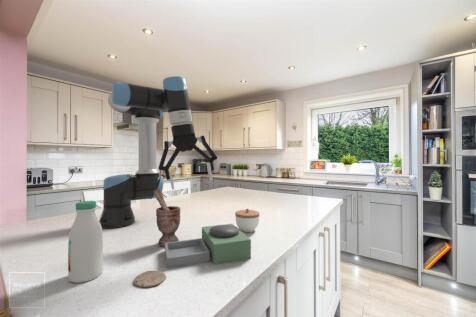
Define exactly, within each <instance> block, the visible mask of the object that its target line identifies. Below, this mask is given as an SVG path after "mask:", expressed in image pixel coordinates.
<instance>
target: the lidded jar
mask: <svg viewBox="0 0 476 317" xmlns="http://www.w3.org/2000/svg"><path fill="white" fill-rule="evenodd" d="M234 215H235V223H236V227H238V228H239V230H240V231H241V232H243V233H251V232H254V231H255V230H256V229H257V228H258V226H259V223H260V212H259V211H257V210H254V209H249V208H246V209H240V210H239V209H238V210H237V211H235V213H234Z"/></svg>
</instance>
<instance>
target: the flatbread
mask: <svg viewBox="0 0 476 317" xmlns="http://www.w3.org/2000/svg"><path fill="white" fill-rule="evenodd" d="M166 278H167V275H166V273H164V272H163V271H162V270H161V271H160V270H146V271H144V272H142V273H140V274H138V275H136V276H135V278H134V280H133V284H134V285H135V286H137V287H141V288H150V287H155V286H156V287H157V286H159V285H161V284H162V283H163V282H164V281H165V280H166Z"/></svg>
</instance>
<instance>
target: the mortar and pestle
mask: <svg viewBox="0 0 476 317" xmlns="http://www.w3.org/2000/svg"><path fill="white" fill-rule="evenodd" d="M154 195H155V197H156V198H155V199H156V201H157V202H158V204H159V206H160V207H158V208H156V209H155V213H156V225H157V226H156V227H157V229H158V231H159V232H160V233H161V235H162V236H161V237H160V238H159V240H158V246H160V247H164V248H165V243H168V242H175V241H180V239H179V238H178V236H177V235H176V232H177V231H178V229H179V226H180V223H181V207H180V206H175V205H174V206H173V205H172V206H171V205H169V206H168V205H167V203H166V201H165V198H164V195H163V191H162V192H161V190H160V189H155V190H154Z"/></svg>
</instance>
